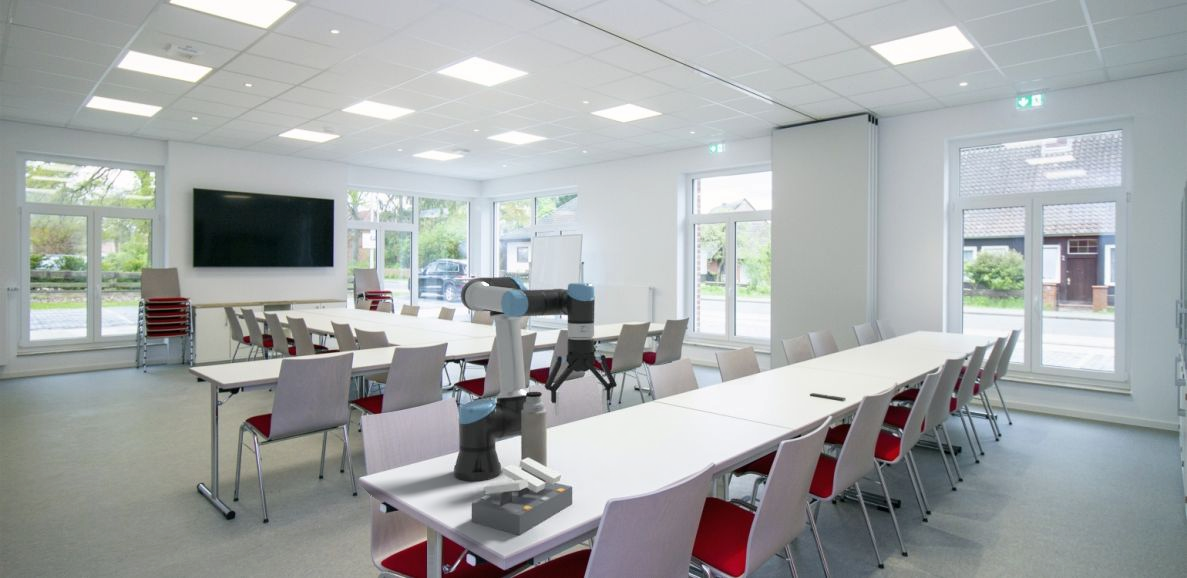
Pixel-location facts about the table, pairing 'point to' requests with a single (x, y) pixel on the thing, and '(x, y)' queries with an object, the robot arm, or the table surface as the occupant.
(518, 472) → the rocker
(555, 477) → the rocker
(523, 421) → the thermos bottle
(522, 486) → the rocker
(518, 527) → the console
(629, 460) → the table surface
